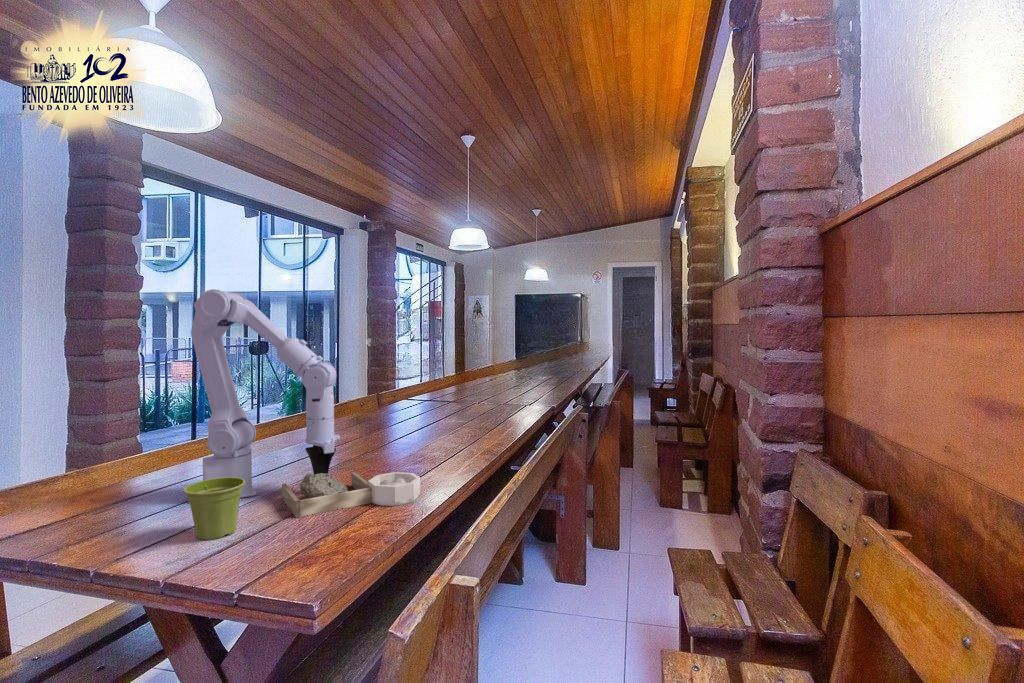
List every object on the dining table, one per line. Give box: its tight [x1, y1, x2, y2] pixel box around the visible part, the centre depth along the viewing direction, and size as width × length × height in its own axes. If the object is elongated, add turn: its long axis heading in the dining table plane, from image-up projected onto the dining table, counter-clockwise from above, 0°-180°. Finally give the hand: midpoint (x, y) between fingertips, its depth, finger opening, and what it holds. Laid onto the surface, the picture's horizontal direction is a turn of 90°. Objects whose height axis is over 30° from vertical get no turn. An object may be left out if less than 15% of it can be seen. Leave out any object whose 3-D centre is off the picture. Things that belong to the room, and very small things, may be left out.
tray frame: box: [281, 471, 373, 519], centre depth 108 cm, size 16×14×3 cm
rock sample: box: [297, 473, 349, 498], centre depth 108 cm, size 10×8×9 cm
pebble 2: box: [393, 478, 406, 484], centre depth 110 cm, size 3×3×3 cm
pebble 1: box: [379, 480, 392, 485], centre depth 109 cm, size 3×3×3 cm
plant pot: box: [183, 477, 245, 541], centre depth 90 cm, size 9×9×9 cm
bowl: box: [367, 471, 421, 507], centre depth 109 cm, size 10×10×4 cm
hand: (320, 479), depth 112 cm, fingers closed
